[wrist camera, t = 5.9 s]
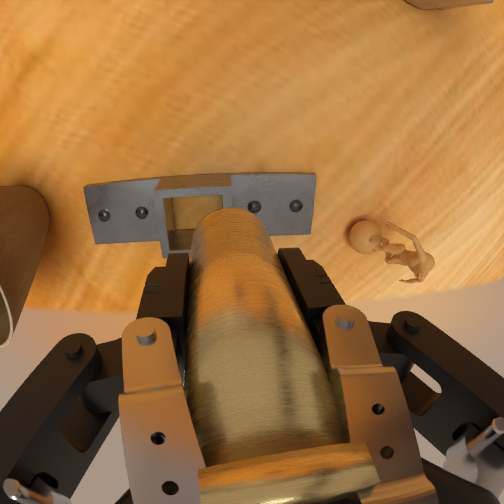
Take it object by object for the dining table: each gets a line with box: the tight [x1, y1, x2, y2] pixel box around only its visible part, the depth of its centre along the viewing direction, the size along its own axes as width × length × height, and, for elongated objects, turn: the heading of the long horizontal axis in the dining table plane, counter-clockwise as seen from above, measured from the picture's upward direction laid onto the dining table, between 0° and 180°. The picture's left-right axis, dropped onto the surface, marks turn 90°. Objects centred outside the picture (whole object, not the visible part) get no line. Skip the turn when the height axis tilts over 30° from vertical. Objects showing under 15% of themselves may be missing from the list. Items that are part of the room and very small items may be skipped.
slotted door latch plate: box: [83, 172, 316, 258], centre depth 29 cm, size 25×7×5 cm, turn 89°
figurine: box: [349, 220, 435, 283], centre depth 29 cm, size 8×6×12 cm
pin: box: [171, 208, 382, 504], centre depth 8 cm, size 4×4×11 cm
